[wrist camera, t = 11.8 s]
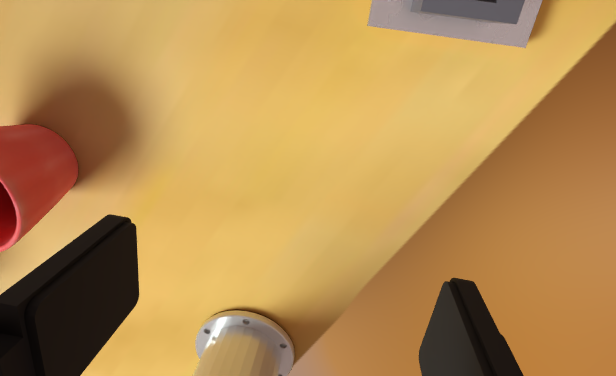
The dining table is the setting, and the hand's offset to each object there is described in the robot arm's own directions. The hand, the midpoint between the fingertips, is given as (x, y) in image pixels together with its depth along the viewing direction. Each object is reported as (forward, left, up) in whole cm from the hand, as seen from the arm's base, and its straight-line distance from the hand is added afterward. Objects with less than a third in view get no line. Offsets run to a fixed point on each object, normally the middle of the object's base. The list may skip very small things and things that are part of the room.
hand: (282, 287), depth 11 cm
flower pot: (-10, +29, -25) cm, 40 cm away
